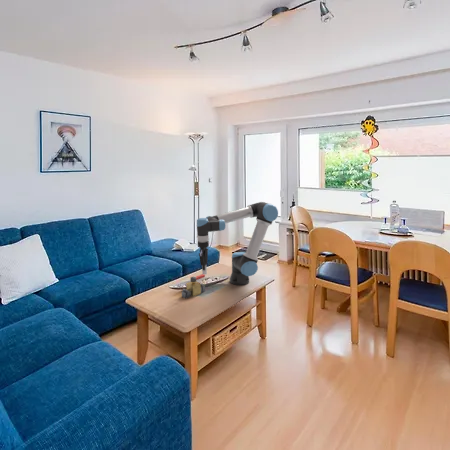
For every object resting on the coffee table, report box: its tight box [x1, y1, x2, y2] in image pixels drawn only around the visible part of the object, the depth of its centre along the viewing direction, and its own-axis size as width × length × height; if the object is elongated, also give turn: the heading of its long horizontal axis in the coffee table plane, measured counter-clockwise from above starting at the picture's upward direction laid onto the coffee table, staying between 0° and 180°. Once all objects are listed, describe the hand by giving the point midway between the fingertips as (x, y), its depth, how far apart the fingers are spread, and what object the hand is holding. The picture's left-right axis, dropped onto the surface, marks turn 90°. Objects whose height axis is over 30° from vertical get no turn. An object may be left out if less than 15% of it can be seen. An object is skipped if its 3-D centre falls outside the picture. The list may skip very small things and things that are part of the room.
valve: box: [181, 280, 206, 299], centre depth 222 cm, size 18×7×10 cm, turn 134°
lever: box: [189, 274, 206, 282], centre depth 223 cm, size 12×4×2 cm, turn 137°
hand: (204, 273), depth 219 cm, fingers closed
